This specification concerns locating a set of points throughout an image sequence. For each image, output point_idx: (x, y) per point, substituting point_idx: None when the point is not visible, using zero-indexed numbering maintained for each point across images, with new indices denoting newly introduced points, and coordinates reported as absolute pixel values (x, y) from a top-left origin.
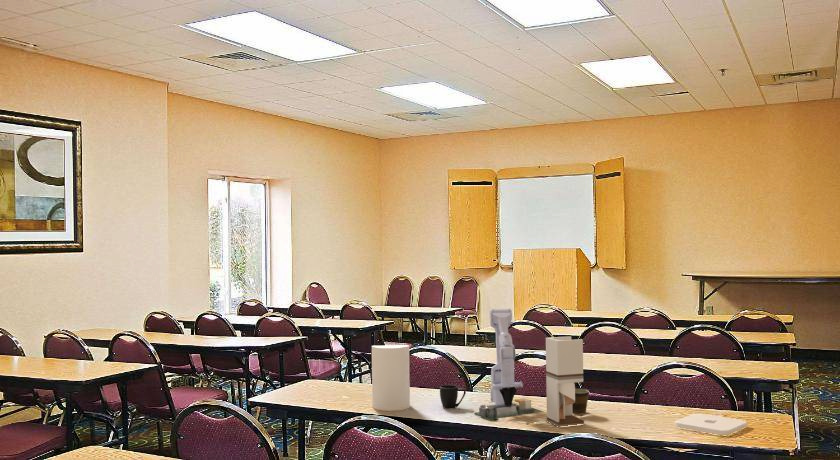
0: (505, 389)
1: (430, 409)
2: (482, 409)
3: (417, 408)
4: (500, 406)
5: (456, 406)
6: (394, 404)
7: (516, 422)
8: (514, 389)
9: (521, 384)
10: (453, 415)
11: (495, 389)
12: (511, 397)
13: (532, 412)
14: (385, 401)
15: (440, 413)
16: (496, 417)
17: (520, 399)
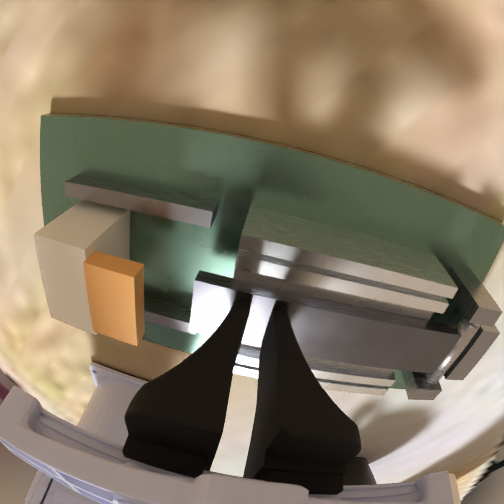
0: (304, 472)
1: (402, 465)
2: (484, 347)
3: (406, 476)
4: (365, 325)
5: None
6: (451, 485)
7: (440, 51)
8: (186, 422)
9: (12, 420)
10: (457, 403)
11: (447, 478)
12: (236, 351)
13: (113, 141)
14: (458, 493)
15: (443, 433)
16: (462, 236)
17: (98, 312)
